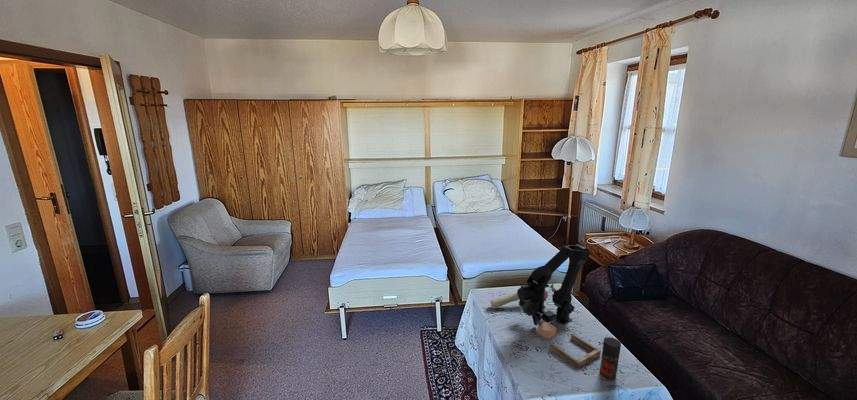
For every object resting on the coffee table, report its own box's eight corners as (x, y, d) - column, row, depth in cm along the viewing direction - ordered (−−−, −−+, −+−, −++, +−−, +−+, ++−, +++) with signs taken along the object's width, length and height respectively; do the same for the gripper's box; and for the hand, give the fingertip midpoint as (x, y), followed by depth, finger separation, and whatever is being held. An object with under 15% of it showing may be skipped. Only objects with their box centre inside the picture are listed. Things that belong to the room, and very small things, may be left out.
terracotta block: (545, 328, 172) (545, 321, 171) (555, 335, 168) (556, 327, 167) (537, 333, 169) (537, 325, 168) (547, 339, 164) (548, 332, 163)
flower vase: (493, 317, 195) (551, 297, 200) (500, 323, 183) (562, 303, 188) (487, 296, 195) (545, 277, 200) (494, 301, 183) (555, 281, 188)
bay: (572, 338, 165) (572, 333, 164) (600, 355, 153) (600, 350, 153) (550, 349, 157) (550, 344, 157) (577, 368, 146) (578, 363, 145)
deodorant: (596, 369, 145) (600, 337, 141) (610, 369, 145) (615, 336, 142) (604, 380, 139) (609, 347, 136) (619, 379, 140) (624, 346, 136)
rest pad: (539, 316, 182) (539, 315, 182) (548, 322, 177) (548, 321, 177) (530, 319, 179) (530, 319, 179) (540, 325, 174) (540, 325, 174)
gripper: (511, 291, 173) (509, 320, 177) (541, 309, 158) (539, 340, 162) (528, 286, 179) (525, 313, 183) (558, 303, 163) (555, 332, 167)
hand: (535, 324), depth 173 cm, fingers closed
